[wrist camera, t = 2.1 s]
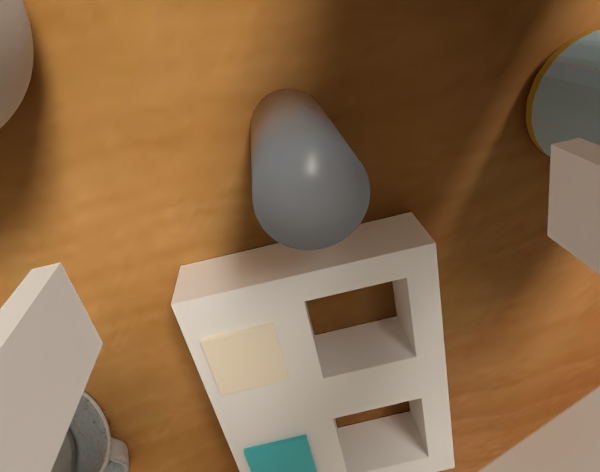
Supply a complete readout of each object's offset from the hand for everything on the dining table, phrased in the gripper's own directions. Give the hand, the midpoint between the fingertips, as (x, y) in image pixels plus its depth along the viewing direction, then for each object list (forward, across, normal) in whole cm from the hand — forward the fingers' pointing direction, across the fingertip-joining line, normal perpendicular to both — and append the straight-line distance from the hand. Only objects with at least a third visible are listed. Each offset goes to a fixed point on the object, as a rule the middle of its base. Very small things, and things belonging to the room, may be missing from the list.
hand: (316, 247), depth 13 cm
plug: (+14, 0, 0) cm, 14 cm away
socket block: (+14, 0, +16) cm, 21 cm away
